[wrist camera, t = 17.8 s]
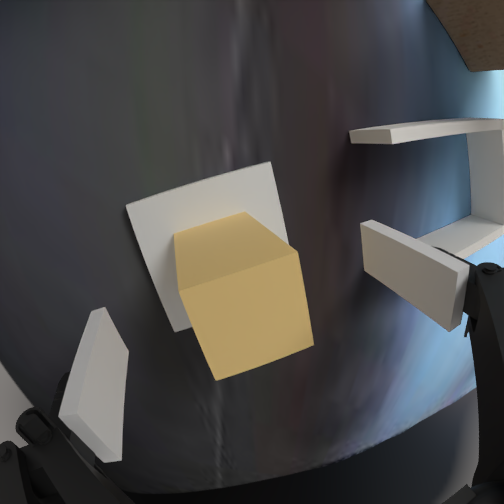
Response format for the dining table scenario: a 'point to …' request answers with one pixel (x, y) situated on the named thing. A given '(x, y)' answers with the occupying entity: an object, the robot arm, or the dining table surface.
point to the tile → (199, 222)
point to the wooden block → (474, 30)
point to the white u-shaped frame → (481, 176)
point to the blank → (241, 293)
